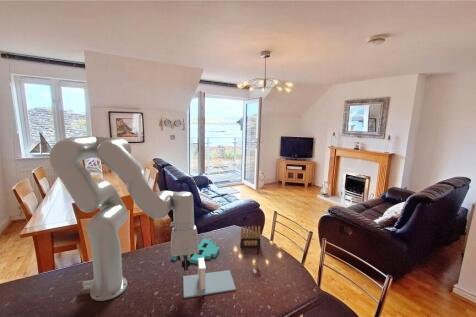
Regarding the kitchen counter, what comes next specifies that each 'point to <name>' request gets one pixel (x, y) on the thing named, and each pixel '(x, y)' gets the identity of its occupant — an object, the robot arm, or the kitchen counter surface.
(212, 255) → the alien figure
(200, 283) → the tile
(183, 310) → the kitchen counter surface
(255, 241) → the ammunition clip
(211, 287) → the mat
